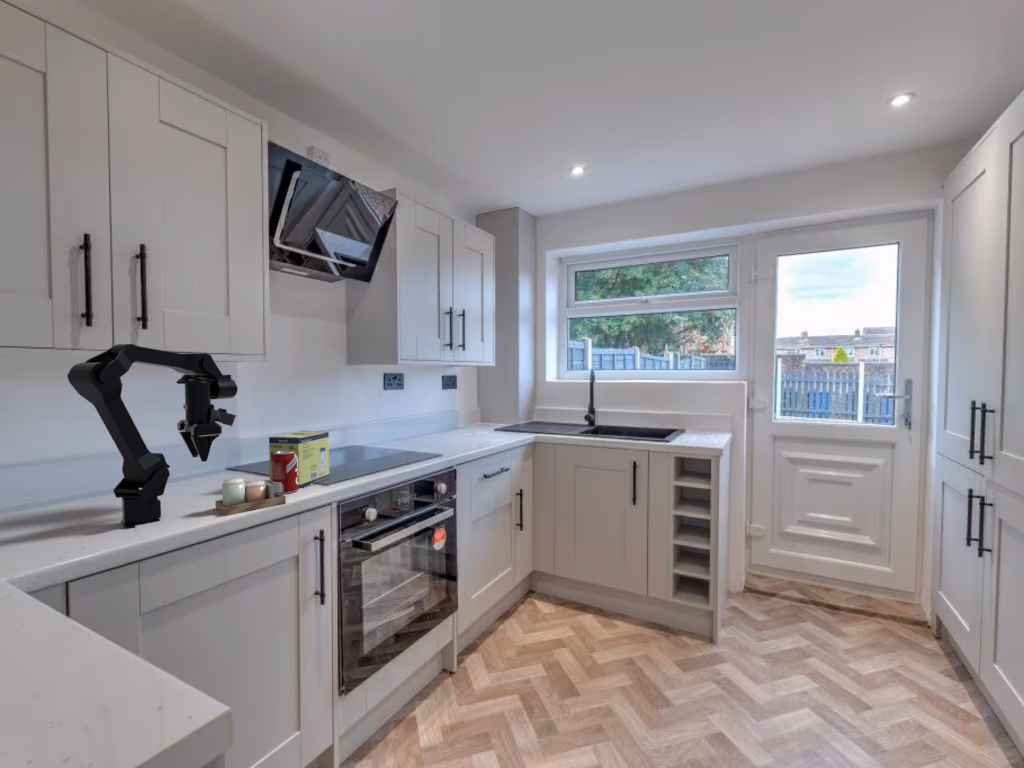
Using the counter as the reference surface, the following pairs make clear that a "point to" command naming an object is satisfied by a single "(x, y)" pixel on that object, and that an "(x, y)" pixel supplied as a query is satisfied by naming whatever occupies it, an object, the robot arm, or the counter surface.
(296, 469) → the soda can
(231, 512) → the wooden tray
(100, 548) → the counter surface
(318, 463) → the protein box
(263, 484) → the terracotta jar
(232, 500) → the sage jar
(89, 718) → the counter surface
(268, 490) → the bar
